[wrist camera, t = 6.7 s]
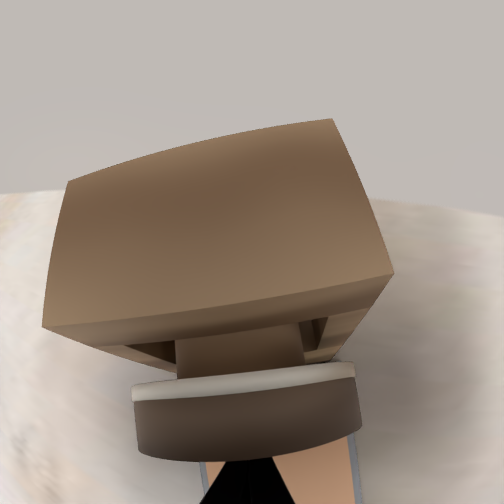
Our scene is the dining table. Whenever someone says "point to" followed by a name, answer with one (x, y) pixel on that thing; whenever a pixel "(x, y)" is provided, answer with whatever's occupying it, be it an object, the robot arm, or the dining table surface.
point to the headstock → (218, 246)
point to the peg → (245, 399)
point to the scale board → (312, 473)
